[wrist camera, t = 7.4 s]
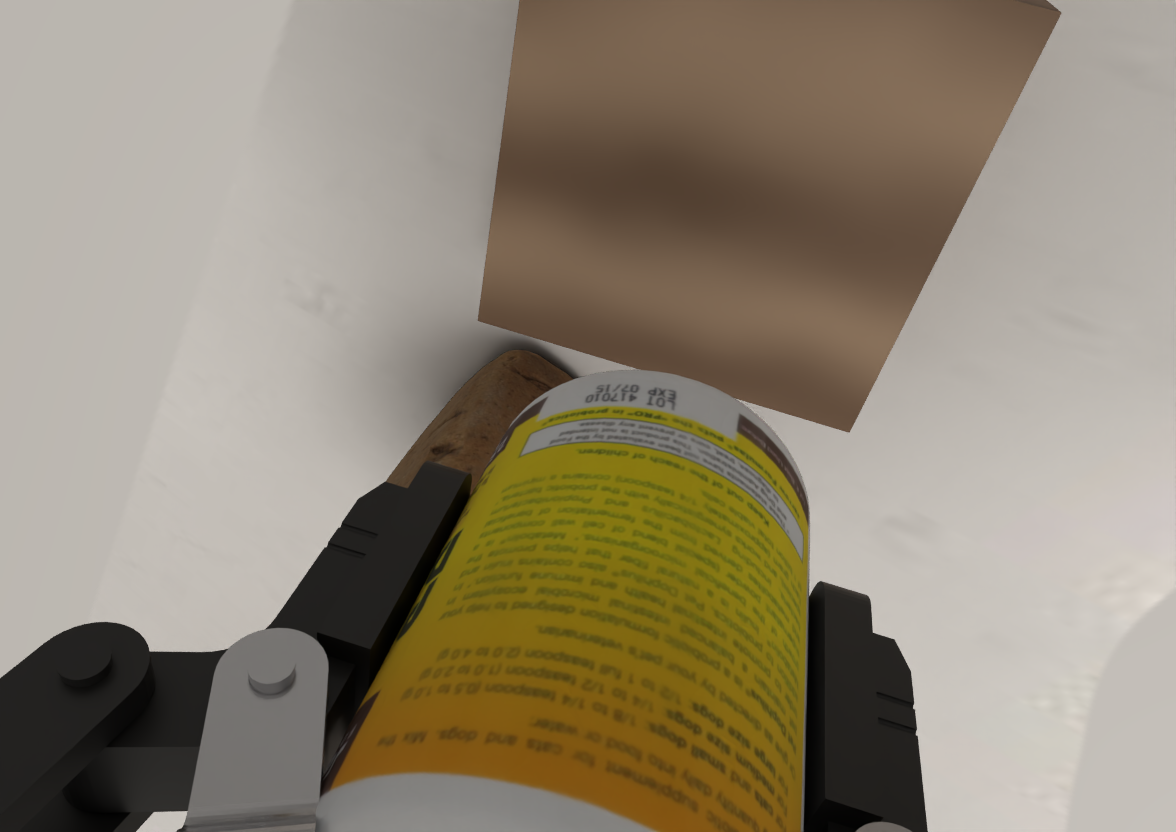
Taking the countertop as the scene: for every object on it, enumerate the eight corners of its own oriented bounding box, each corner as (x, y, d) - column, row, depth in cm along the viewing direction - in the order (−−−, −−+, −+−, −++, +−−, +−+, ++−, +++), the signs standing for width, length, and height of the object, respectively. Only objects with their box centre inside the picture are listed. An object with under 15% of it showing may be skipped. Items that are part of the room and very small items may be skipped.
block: (430, 400, 41) (179, 761, 25) (523, 314, 37) (293, 682, 21) (584, 535, 44) (446, 935, 28) (688, 469, 40) (594, 895, 24)
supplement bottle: (487, 338, 14) (1, 1070, 6) (833, 370, 13) (852, 1344, 4) (513, 576, 17) (226, 1265, 9) (791, 619, 16) (757, 1452, 8)
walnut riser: (588, -133, 27) (535, -124, 22) (1018, -23, 26) (1061, 12, 21) (525, 253, 35) (477, 320, 30) (846, 347, 34) (849, 432, 29)
